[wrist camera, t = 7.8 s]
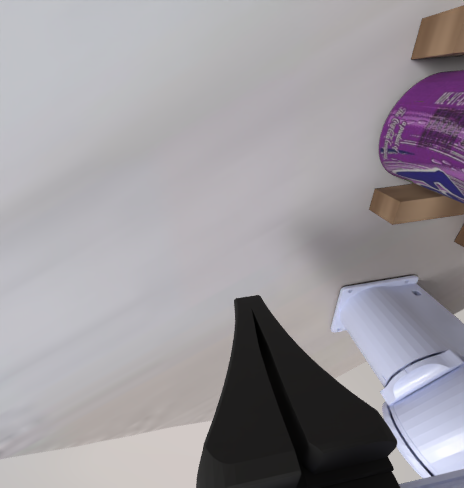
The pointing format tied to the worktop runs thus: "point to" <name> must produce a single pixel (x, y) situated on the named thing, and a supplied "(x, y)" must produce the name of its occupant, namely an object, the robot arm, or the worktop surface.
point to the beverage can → (428, 135)
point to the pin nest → (412, 195)
